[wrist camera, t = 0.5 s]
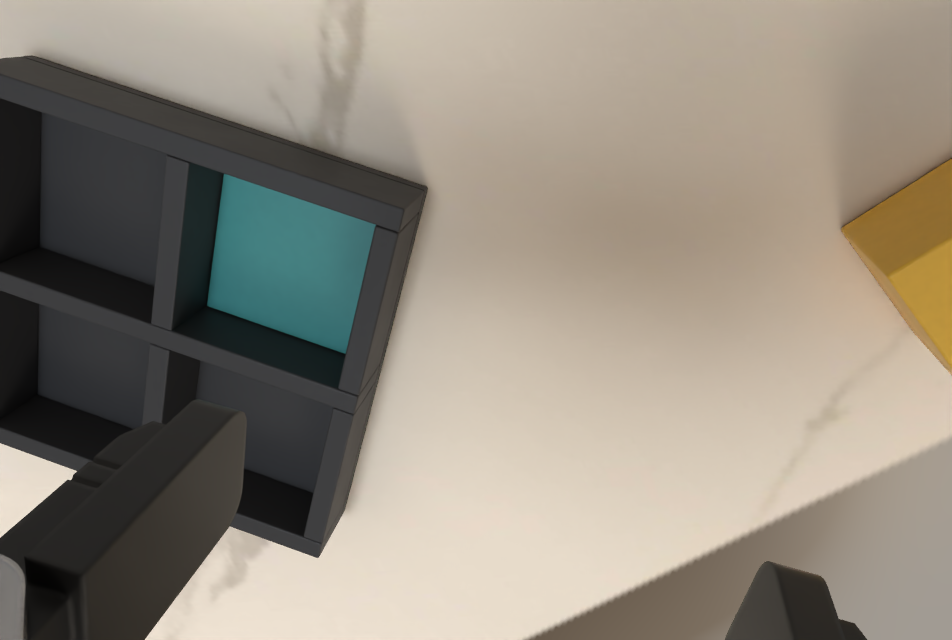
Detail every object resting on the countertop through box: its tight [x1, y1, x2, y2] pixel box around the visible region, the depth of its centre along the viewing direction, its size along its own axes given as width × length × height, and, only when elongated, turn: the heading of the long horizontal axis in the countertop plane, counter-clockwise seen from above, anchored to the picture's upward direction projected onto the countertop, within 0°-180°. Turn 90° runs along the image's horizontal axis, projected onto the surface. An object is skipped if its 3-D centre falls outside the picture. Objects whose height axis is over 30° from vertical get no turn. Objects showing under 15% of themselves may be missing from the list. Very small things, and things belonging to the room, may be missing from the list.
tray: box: [0, 56, 427, 558], centre depth 27 cm, size 15×15×3 cm
